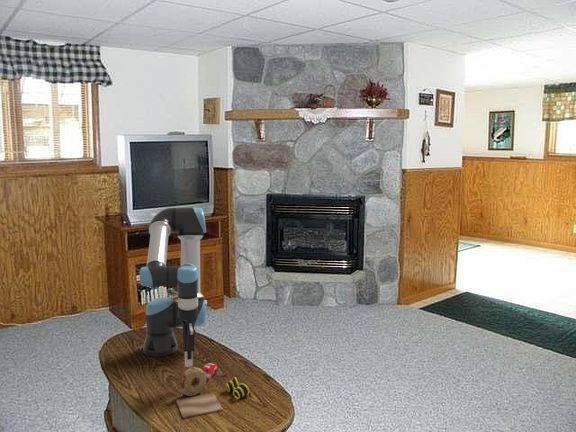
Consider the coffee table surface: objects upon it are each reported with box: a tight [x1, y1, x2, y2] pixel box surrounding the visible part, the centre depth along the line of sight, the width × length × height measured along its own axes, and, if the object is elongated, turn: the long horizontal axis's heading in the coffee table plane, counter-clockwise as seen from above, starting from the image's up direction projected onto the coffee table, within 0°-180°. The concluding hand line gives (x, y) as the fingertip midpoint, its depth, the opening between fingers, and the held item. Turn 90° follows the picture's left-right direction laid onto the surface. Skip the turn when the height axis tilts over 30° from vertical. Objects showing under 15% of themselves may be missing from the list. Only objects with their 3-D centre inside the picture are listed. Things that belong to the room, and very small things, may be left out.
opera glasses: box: [225, 376, 250, 400], centre depth 184 cm, size 10×5×5 cm, turn 38°
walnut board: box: [175, 392, 224, 419], centre depth 175 cm, size 12×14×1 cm
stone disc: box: [178, 366, 207, 397], centre depth 183 cm, size 10×4×10 cm, turn 128°
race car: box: [201, 363, 218, 384], centre depth 197 cm, size 13×5×4 cm, turn 163°
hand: (188, 365), depth 189 cm, fingers closed
